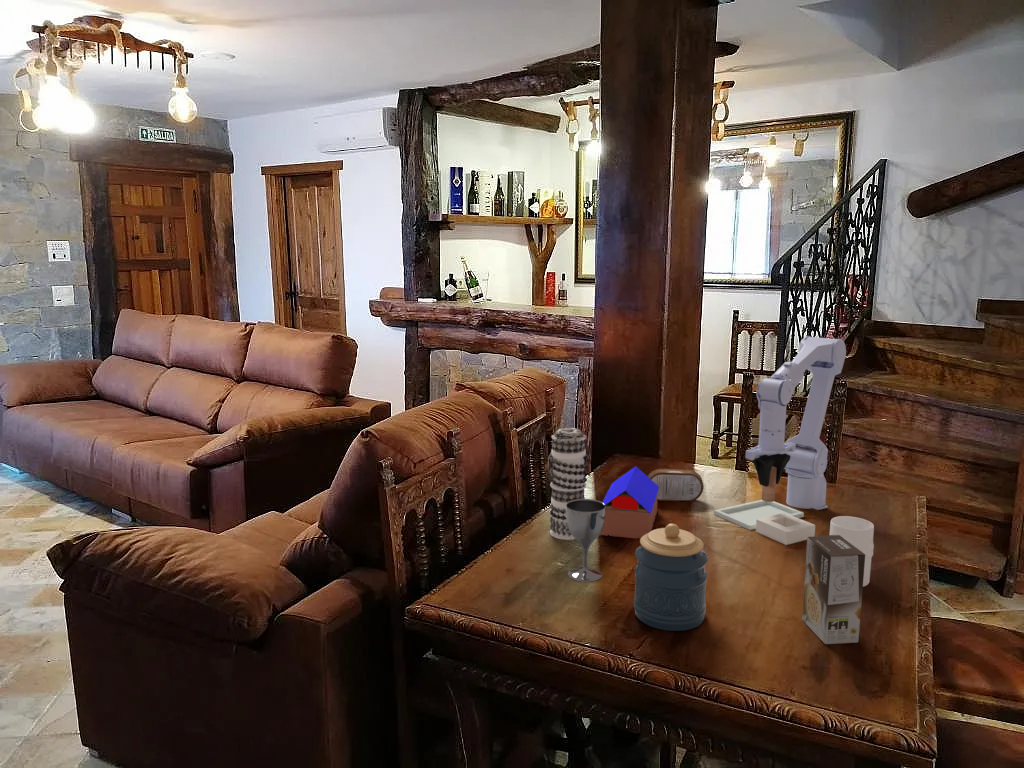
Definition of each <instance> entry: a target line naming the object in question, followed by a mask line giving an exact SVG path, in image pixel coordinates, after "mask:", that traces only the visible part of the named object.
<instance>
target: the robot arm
mask: <svg viewBox="0 0 1024 768" xmlns="http://www.w3.org/2000/svg"><path fill="white" fill-rule="evenodd" d="M846 356H847V348H846V344H845V341H844V340H843V338H828V337H827V338H826V337H816V336H810V335H806V336H804V337H803V338H802V339H801V340H800V342H799V349H798V352H797V354H796V355H795V356H794V358H793V359H792V360H791V361H785V362H784V363H783V364H782V365H781V366H780V367H779V368H778V369H777V370H776V371H775V372H774V373H773V374H772V375H771V376H770V377H764V379H761V380H760V381H759V383H758V385H757V387H756V392H755V394H756V398H757V401H758V402H757V403H758V404H757V407H758V409H759V410H760V412H759V429H758V430H759V431H758V434H759V435H758V444H757V445H756V446H754V447H752V448H750V449H746V450H745V459H747V460H749V461H751V462H752V463H753V465H754V468H755V470H756V474H757V477H758V483H759V485H761V487H762V486H765V487H767V486H768V485H769V479H770V472H771V468H772V466H774V467H776V468H777V471H776V485H779V484H780V480H781V479H782V475H783V473H784V470H785V473H786V474H787V486H786V501H785V503H786V504H787V506H789V507H792V508H798V509H805V510H806V509H814V510H817V511H820V510H823V509H824V510H825V509H828V505H827V504H826V499H827V495H826V494H827V486H828V485H827V480H826V477H825V475H824V473H825V472H826V470H827V465H828V453H829V449H828V448H827V445H825V443H824V442H823V441H822V440H821V439H820V436H821V433H822V429H823V425H824V420H825V416H826V413H827V408H828V404H829V401H830V396H831V392H832V388H833V384H834V382H835V381H834V380H835V377H836V376H837V375H840V374H842V371H843V367H844V363H845V359H846ZM806 370H807V371H808V372H810V373H812V381H811V385H810V388H809V393H808V396H807V401H806V405H805V407H804V412H803V416H802V420H801V423H800V424H801V425H800V428H799V432H798V434H797V435H794V436H792V437H791V438H789V439H787V442H785V435H786V434H785V433H786V422H787V421H786V419H787V418H786V416H787V405H788V404H789V403H790V402H791V400H792V396H793V394H794V393H795V388H796V387H797V386H798V385H799V384H800V383H801V382H802V381H803V379H804V376H805V373H804V372H805V371H806Z"/></svg>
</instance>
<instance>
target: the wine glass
mask: <svg viewBox="0 0 1024 768" xmlns="http://www.w3.org/2000/svg"><path fill="white" fill-rule="evenodd" d="M566 518H567V524H568V528H569V531H570V533H571V534H572V536H573V537H574V538H575V540H576V541H577V542H578V544H579V546H580V548H581V550H582V561H583V562H582V566H578V567H574V568H573V567H572V568H571V569H569V570H568V572H567V576H568V578H570V579H571V580H574V581H577V582H583V583H590V582H596V581H598V580H599V581H600V579H602V578H603V573H602V571H600V570H599V569H596V568H594V567H590V566H588V555H589V549H590V547H591V545H592V544H593V543H594V541H596V539H597V538H598V537H599V536H601V535H600V534H601V532H602V529H603V526H604V521H605V504H604V503H603V501H601V500H597V499H592V498H585V499H576V500H572V501H569V502H568V503H567V504H566Z"/></svg>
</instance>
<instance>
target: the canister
mask: <svg viewBox="0 0 1024 768" xmlns="http://www.w3.org/2000/svg"><path fill="white" fill-rule="evenodd" d="M639 544H640V545H639V546H638V547H637V548H636V549H635V551H634V555H635V558H636V560H637V564H636V565H635V567H634V574H635V578H634V579H635V580H634V581H635V582H634V583H635V585H634V597H633V609H634V614H635V616H636V618H637V619H638V620H639V621H640V622H642V623H644V624H645V625H647V626H649V627H651V628H655V629H657V630H662V631H671V632H680V631H682V632H683V631H688V630H693V629H695V628H697V627H699V626H700V625H701V624H702V623H703V621H704V620H705V615H706V610H707V604H706V592H707V591H706V588H707V587H706V586H707V580H708V579H707V578H708V572H707V571H706V569H705V566H706V564H707V563H708V561H709V557H708V554H707V552H705V550H704V546H705V544H704V542H703V540H702V539H700V538H699V537H697V536H695V534H693V533H692V532H690V531H689V530H688V531H687V530H684V529H681V528H680V527H679V526H678V525H677V524H676V523H668V524H667V525H666V526H665V527H660V528H656V529H653V530H651V532H649V533H647V534H645V535H644V536H642V537H641V539H639Z"/></svg>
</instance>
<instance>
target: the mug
mask: <svg viewBox="0 0 1024 768" xmlns="http://www.w3.org/2000/svg"><path fill="white" fill-rule="evenodd" d="M829 522H830V524H829V525H830V526H829V535H840V536H841V537H843V538H844V539H845V540H847V541H848V542H849V543H851V544H852V545H853V546H855V547H856V548H857V549H859V550H860V551H861V552H863V553H864V554H865V565H864V577H863V588H864V587H866V586H868V585H869V583H870V578H871V569H872V557H874V549H875V548H874V547H875V544H874V543H875V542H874V535H875V534H874V532H875V526H874V523H872V522H871V521H870V520H868V519H865V518H861V517H857V516H851V515H839V516H835V517H832V518H831V520H830V521H829Z"/></svg>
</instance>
